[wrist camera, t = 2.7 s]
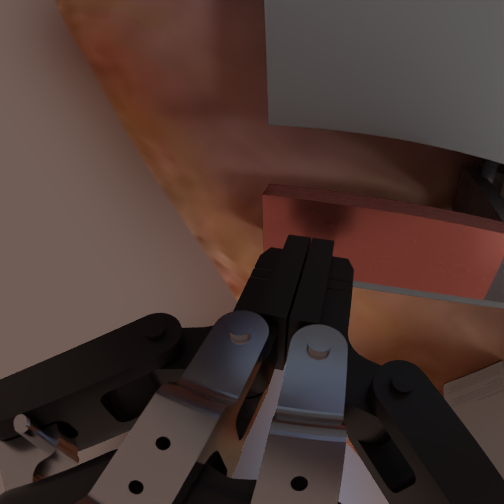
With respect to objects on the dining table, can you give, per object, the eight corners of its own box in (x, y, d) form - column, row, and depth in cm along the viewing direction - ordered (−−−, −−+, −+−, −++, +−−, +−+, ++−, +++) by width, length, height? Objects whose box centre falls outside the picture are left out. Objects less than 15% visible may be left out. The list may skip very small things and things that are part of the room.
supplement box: (441, 383, 26) (438, 496, 17) (503, 358, 22) (516, 475, 12) (457, 408, 28) (454, 503, 18) (511, 387, 24) (519, 486, 14)
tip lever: (598, 192, 10) (655, 258, 4) (573, 256, 14) (614, 332, 8) (300, 117, 16) (261, 162, 10) (298, 204, 20) (264, 288, 14)
